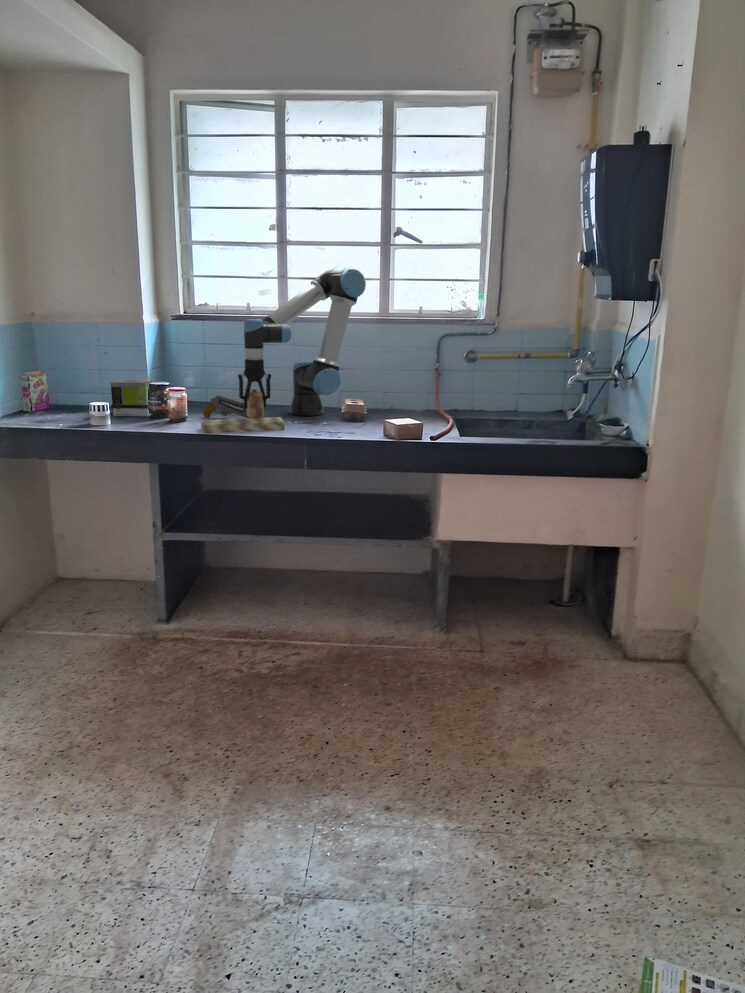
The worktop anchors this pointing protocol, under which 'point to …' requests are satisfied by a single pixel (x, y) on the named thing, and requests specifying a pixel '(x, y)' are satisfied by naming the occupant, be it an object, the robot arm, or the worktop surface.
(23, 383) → the candy bar box
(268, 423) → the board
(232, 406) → the gun
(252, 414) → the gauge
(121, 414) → the tea box
